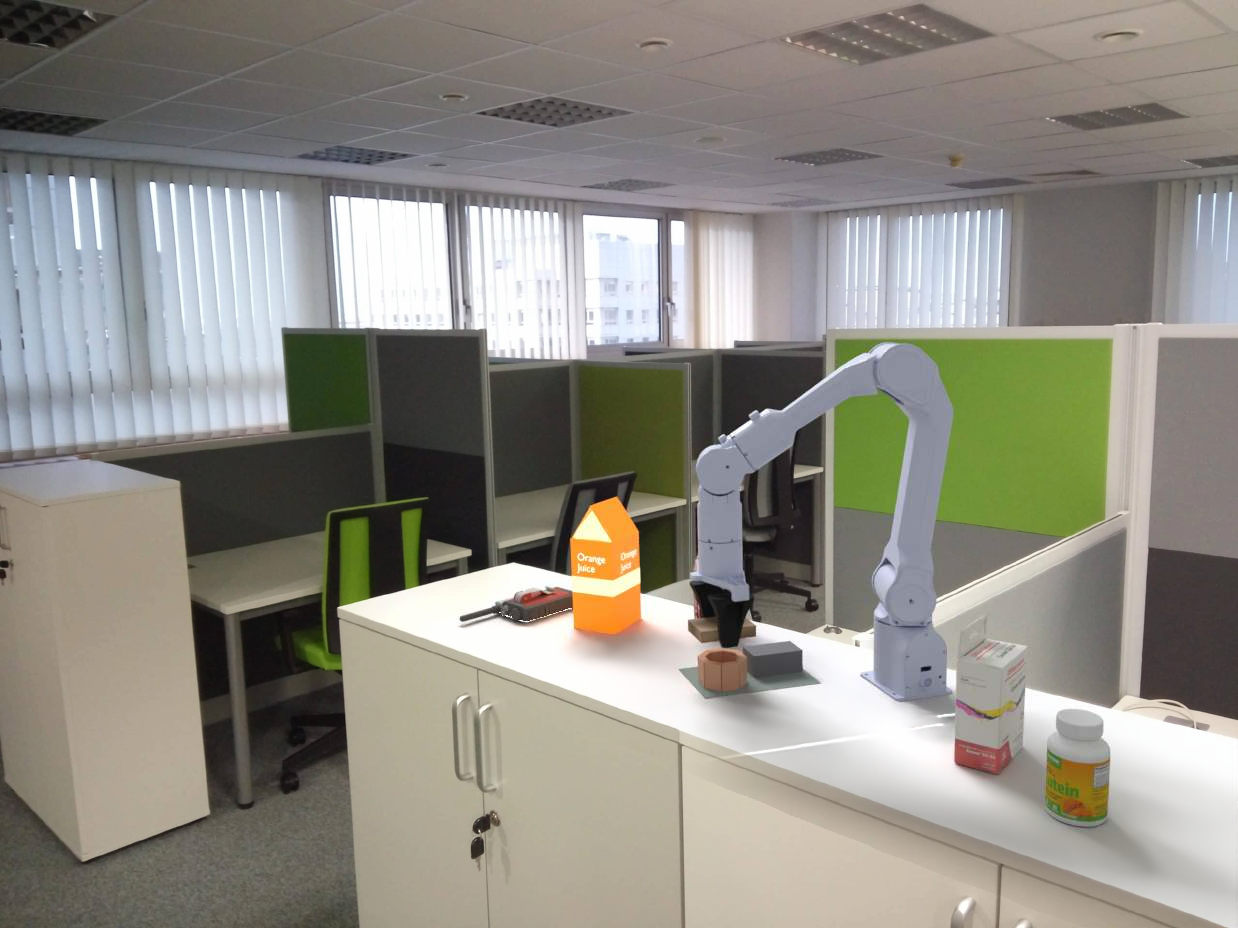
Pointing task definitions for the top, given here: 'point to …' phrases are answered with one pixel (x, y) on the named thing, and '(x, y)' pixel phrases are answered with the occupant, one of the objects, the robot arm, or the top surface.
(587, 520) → the orange juice
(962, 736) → the ink cartridge box
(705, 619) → the lid
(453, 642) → the top surface
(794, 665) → the block
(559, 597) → the walkie-talkie
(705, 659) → the octagonal terracotta pot
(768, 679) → the felt mat
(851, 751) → the top surface
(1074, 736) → the supplement bottle
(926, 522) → the robot arm
